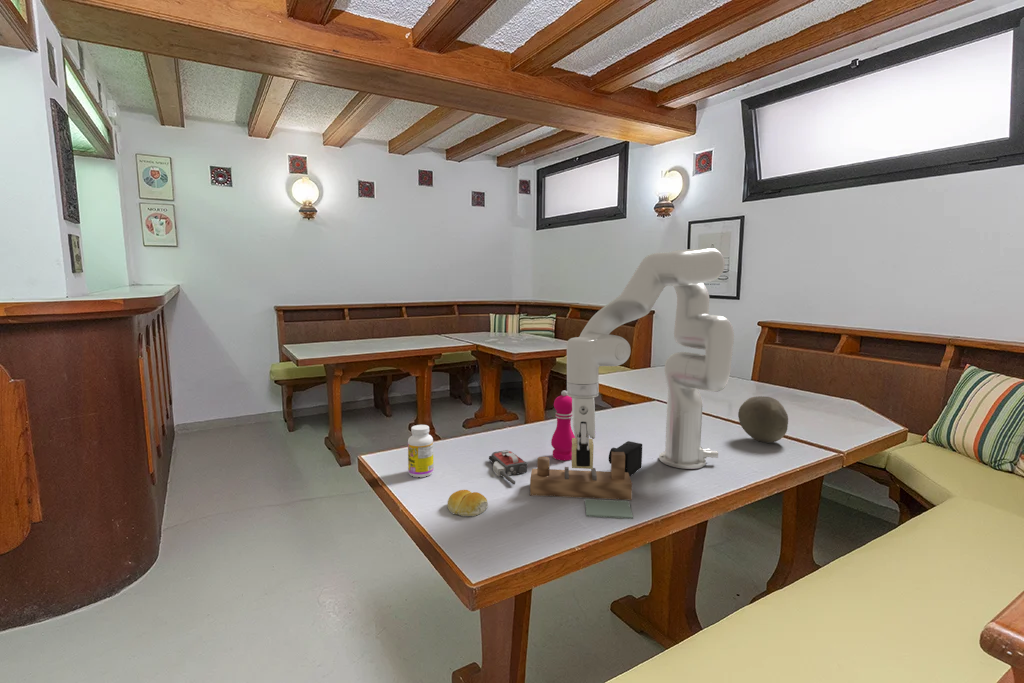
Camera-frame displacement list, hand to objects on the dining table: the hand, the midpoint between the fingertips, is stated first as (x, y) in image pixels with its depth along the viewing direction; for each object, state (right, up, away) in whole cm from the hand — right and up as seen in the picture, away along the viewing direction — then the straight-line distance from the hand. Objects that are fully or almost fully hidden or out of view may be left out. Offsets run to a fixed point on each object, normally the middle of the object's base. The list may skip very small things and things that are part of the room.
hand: (582, 461), depth 120 cm
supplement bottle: (-42, -6, +12) cm, 44 cm away
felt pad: (+4, -9, -9) cm, 13 cm away
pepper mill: (-2, -5, +25) cm, 25 cm away
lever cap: (0, -1, 0) cm, 1 cm away
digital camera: (+14, -6, +14) cm, 21 cm away
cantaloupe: (+64, -4, +39) cm, 75 cm away
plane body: (-1, -8, 0) cm, 8 cm away
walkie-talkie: (-18, -7, +14) cm, 23 cm away
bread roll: (-27, -9, -9) cm, 30 cm away
